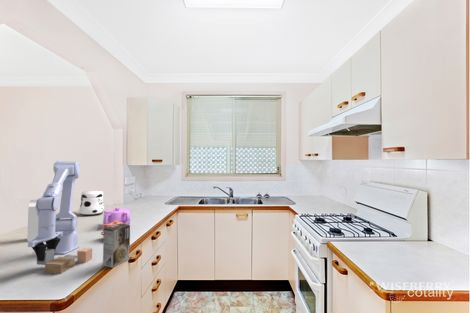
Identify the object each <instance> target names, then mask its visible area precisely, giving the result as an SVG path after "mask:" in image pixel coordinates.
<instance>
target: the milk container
mask: <svg viewBox="0 0 470 313" xmlns="http://www.w3.org/2000/svg"><path fill="white" fill-rule="evenodd" d="M80 196H81V197H80V205H79V214H80V215H82V216H97V215H100V214H103V213H104V210H105V205H104V191H102V190H101V191H100V190H88V191H83V192H81V194H80Z"/></svg>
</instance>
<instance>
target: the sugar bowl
mask: <svg viewBox="0 0 470 313" xmlns="http://www.w3.org/2000/svg"><path fill="white" fill-rule="evenodd" d="M120 223H122V222H118V221H113V223H110V224H104V225H103V224H102V226H101V227H102V228H101V229H102V231H101V233H100V235H101V236H103V238H104V228H105V227H104V226H105V225H107V227H110V226H113V225H116V224H120ZM122 224H123V223H122Z"/></svg>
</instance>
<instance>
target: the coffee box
mask: <svg viewBox="0 0 470 313" xmlns="http://www.w3.org/2000/svg"><path fill="white" fill-rule="evenodd" d="M130 228H131V224H129V225H126V224H122V223H120V224H116V225H113V226H110V227H106V228H105V227H104V233H103V234H104V237H103V244H102V246H103V247H102V248H103V249H102V250H103V251H102V266H105V267H108V268H111V269H113V268H116V267H118V266H120V265H122V264H124V263H126V262H128V261H130V253H131V252H130V244H131V241H130V240H131V239H130V238H131V229H130Z"/></svg>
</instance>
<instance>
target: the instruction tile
mask: <svg viewBox="0 0 470 313" xmlns="http://www.w3.org/2000/svg"><path fill="white" fill-rule="evenodd" d="M63 257H73V258H75V259H77V254H76V255H74V254H66V255H64V256H63Z"/></svg>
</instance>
